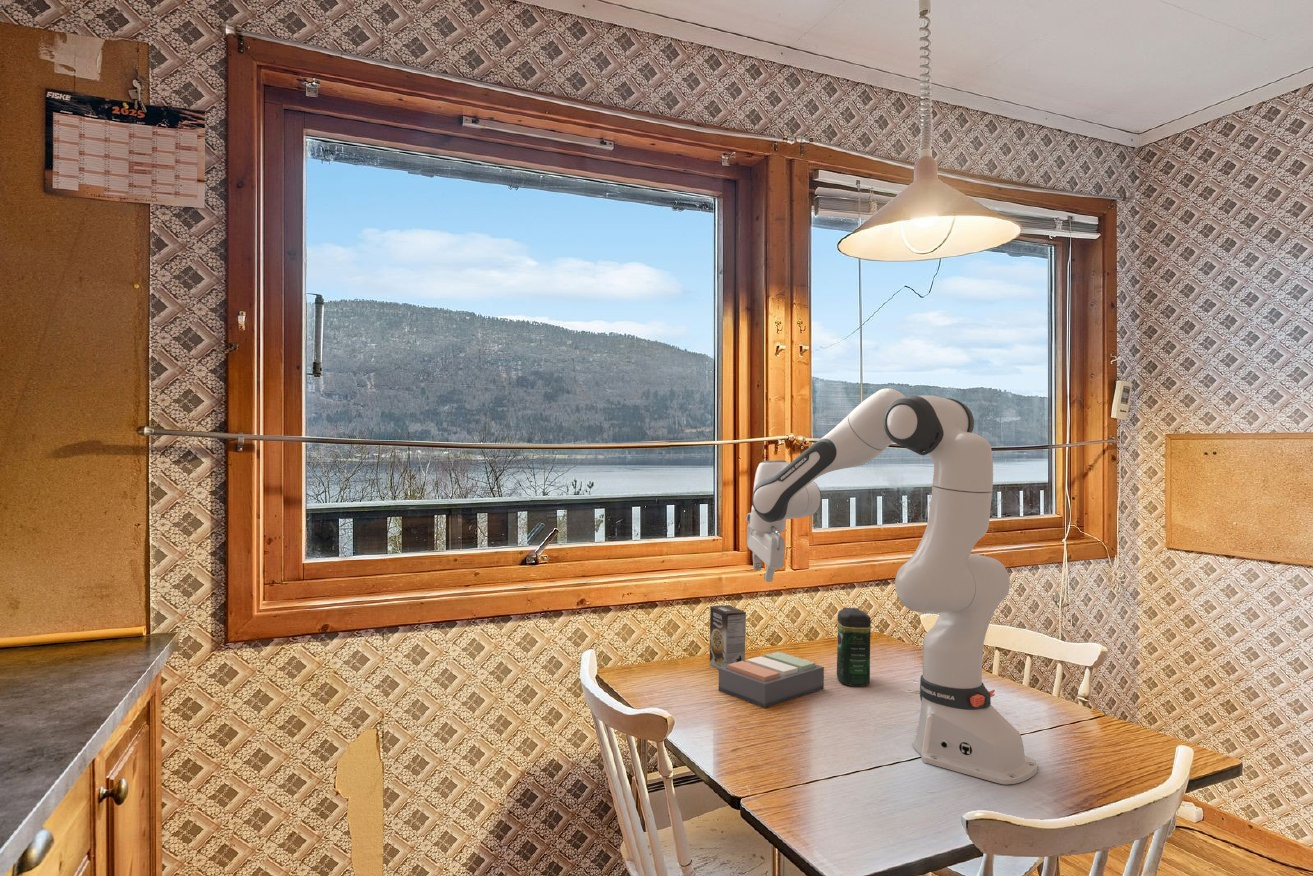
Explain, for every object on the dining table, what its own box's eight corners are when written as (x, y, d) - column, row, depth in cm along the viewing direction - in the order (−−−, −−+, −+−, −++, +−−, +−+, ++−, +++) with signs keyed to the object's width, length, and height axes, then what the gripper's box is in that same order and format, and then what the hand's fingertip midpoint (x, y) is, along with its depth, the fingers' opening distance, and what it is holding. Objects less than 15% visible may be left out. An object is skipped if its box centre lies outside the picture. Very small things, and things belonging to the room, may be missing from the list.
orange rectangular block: (779, 685, 174) (779, 673, 174) (764, 690, 171) (764, 677, 171) (741, 672, 183) (742, 660, 183) (727, 676, 180) (727, 664, 180)
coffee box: (708, 664, 202) (709, 606, 202) (728, 662, 204) (729, 604, 205) (725, 674, 193) (725, 613, 194) (745, 671, 196) (746, 611, 196)
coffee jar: (873, 688, 184) (874, 614, 184) (841, 687, 184) (842, 613, 184) (863, 676, 194) (864, 605, 194) (833, 675, 194) (834, 605, 194)
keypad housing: (823, 689, 182) (823, 667, 182) (764, 708, 168) (765, 684, 169) (777, 673, 194) (777, 653, 194) (718, 690, 180) (718, 668, 180)
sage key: (815, 674, 183) (815, 662, 183) (801, 678, 179) (802, 666, 179) (777, 663, 192) (778, 651, 192) (764, 666, 189) (764, 655, 189)
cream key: (797, 680, 178) (797, 667, 178) (783, 684, 175) (783, 671, 175) (760, 667, 188) (760, 656, 188) (746, 671, 184) (746, 659, 184)
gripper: (793, 533, 176) (787, 588, 177) (767, 514, 196) (762, 564, 197) (768, 531, 175) (762, 587, 176) (744, 513, 195) (739, 563, 196)
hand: (762, 575), depth 187 cm, fingers open, 8 cm apart
